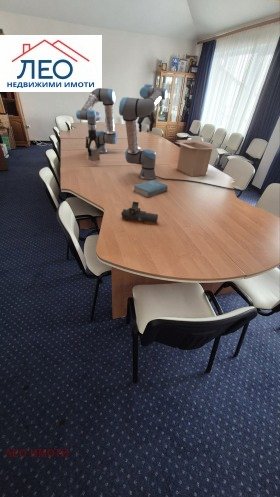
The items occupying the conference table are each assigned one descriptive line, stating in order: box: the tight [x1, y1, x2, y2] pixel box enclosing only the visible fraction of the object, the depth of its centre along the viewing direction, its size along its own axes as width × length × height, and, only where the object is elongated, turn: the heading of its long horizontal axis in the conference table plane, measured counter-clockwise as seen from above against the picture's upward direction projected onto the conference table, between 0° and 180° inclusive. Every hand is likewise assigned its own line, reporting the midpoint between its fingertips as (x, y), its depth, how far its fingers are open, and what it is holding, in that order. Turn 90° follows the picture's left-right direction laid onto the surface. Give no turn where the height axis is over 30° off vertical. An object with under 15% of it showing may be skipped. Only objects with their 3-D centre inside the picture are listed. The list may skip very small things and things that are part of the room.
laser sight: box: [120, 201, 159, 224], centre depth 136 cm, size 10×22×10 cm, turn 78°
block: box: [87, 146, 101, 162], centre depth 219 cm, size 8×8×11 cm
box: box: [174, 139, 219, 177], centre depth 219 cm, size 44×36×27 cm
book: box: [133, 179, 169, 198], centre depth 177 cm, size 23×16×5 cm
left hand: (93, 155), depth 219 cm, fingers closed on block, 8 cm apart
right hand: (145, 131), depth 213 cm, fingers open, 13 cm apart
